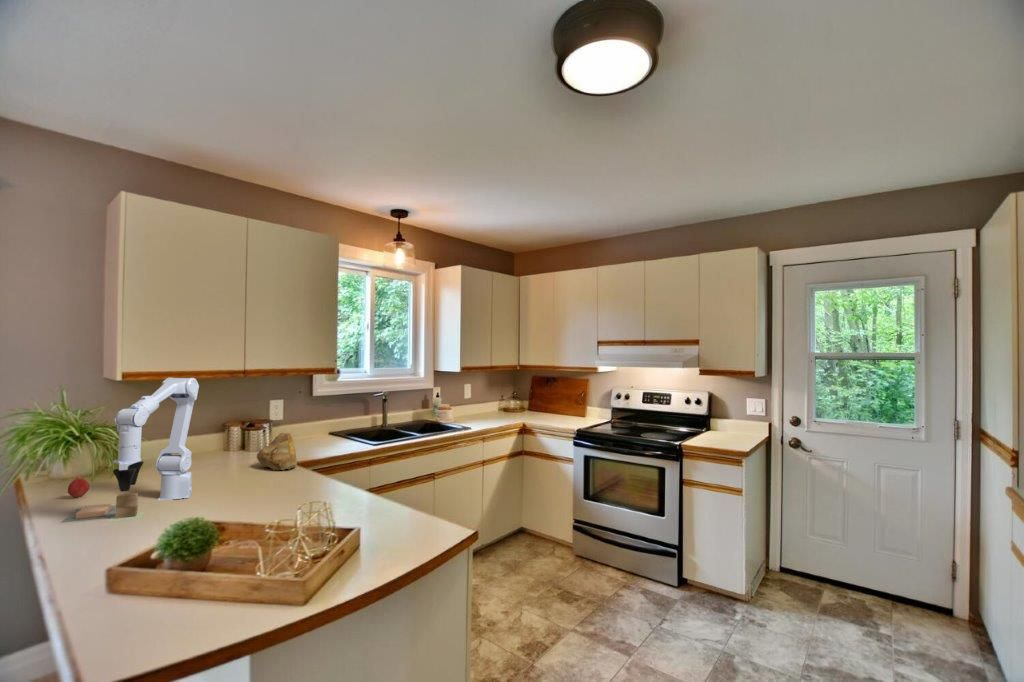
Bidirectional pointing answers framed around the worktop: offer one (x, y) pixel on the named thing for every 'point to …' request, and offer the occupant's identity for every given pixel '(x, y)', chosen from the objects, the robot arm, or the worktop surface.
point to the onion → (78, 487)
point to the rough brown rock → (279, 453)
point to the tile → (93, 511)
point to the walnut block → (126, 505)
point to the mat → (73, 517)
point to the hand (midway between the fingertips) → (128, 487)
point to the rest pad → (126, 517)
